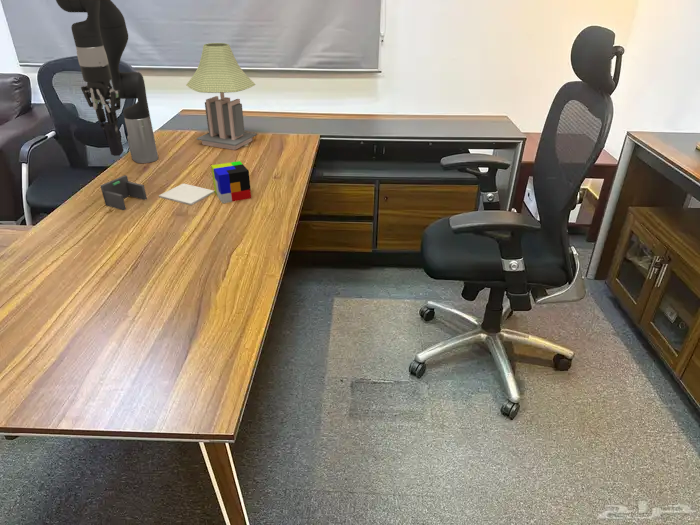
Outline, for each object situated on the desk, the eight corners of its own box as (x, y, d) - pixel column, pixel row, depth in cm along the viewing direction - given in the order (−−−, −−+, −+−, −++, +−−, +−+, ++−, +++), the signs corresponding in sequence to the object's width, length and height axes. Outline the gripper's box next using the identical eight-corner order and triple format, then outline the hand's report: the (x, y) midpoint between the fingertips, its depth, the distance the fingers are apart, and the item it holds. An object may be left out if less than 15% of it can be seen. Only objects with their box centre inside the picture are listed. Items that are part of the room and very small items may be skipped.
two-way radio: (121, 156, 152) (109, 107, 144) (106, 157, 151) (93, 108, 143) (125, 150, 157) (113, 102, 148) (110, 151, 156) (98, 103, 148)
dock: (105, 205, 160) (100, 185, 157) (129, 194, 168) (124, 175, 164) (123, 210, 157) (118, 190, 154) (146, 198, 165) (142, 179, 161)
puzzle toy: (222, 203, 163) (218, 175, 158) (214, 192, 171) (211, 165, 165) (251, 198, 167) (248, 170, 162) (242, 187, 175) (239, 161, 169)
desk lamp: (183, 147, 210) (166, 46, 189) (221, 130, 232) (210, 38, 211) (234, 156, 202) (222, 52, 181) (269, 137, 224) (262, 42, 203)
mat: (159, 197, 166) (158, 195, 166) (183, 184, 176) (183, 183, 175) (191, 205, 161) (190, 203, 161) (214, 192, 171) (214, 190, 170)
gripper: (65, 62, 139) (81, 122, 148) (100, 67, 134) (115, 129, 143) (87, 58, 145) (101, 116, 154) (122, 63, 140) (135, 123, 149)
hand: (108, 122), depth 149 cm, fingers closed on two-way radio, 4 cm apart
